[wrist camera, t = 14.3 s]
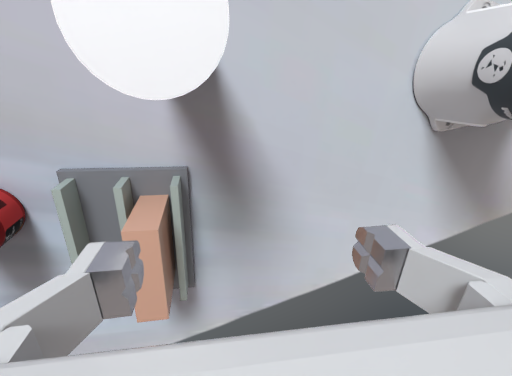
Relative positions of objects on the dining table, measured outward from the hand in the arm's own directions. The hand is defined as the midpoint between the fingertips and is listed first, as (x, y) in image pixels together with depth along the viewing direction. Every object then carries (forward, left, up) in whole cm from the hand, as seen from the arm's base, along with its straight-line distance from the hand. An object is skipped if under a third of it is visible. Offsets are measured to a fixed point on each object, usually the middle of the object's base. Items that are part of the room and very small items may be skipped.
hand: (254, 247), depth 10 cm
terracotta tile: (+9, +18, -30) cm, 36 cm away
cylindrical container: (+4, -8, -31) cm, 32 cm away
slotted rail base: (+13, +18, -31) cm, 38 cm away
